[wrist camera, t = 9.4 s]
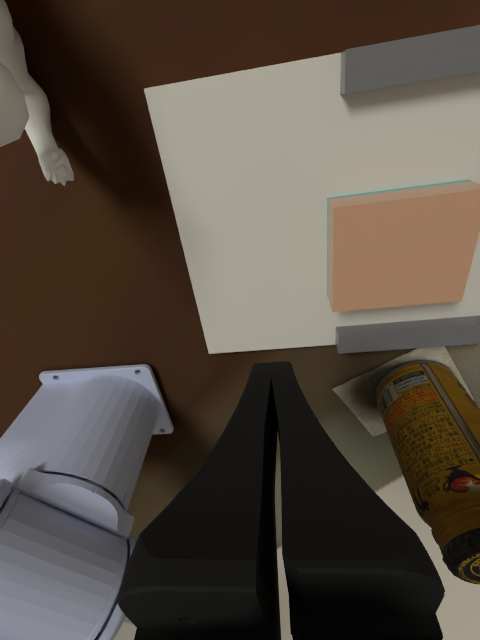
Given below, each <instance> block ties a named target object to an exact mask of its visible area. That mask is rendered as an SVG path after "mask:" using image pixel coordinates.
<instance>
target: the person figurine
mask: <svg viewBox="0 0 480 640" xmlns="http://www.w3.org/2000/svg"><path fill="white" fill-rule="evenodd" d="M24 128H25V130H26V132H27V134H28V136H29V138H30V140H31V142H32V144H33V146H34V148H35V151H36V153H37V155H38V157H39V163H40V166H41V168H42V171H43V174H44V176H45V178H46V179H47V181H50V180H52V181H53V182H54V183H55V184H57V183H58V182H60V183H61V184H62V185H64V186H65V184H66V181H67V180H70V181H73V177H74V174H73V171H72V169H71V166H70V163H69V161H68V158H67V156H66V154H65V153H64V151H63V150H62V149H59V148H58V147H57V144H56V142H55V139H54V137H53V134H52V129H51V122H50V106H49V102H48V99H47V96H46V94H45V93H44V91H43V90H42V89H41V87H40V86H39V85H38V84H37V83H36V82H35V81H34V79H33V78H32V77H31V76H30V75H29V74H28V70H27V66H26V61H25V53H24V46H23V43H22V40H21V37H20V35H19V34H18V32H17V31H16V30H15V28H14V27H13V24H12V18H11V16H10V13H9V10H8V7H7V4H6V2H5V1H4V0H0V147H2V146H4V145H6V144H8V143H11V142H13V141H15V140H18V139H20V137H21V135H22V132H23V130H24Z"/></svg>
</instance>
